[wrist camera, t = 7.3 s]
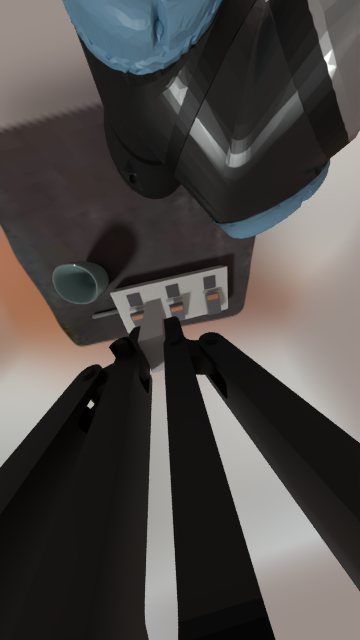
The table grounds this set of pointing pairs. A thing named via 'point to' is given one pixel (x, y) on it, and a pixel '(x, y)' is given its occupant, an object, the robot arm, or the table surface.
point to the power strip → (172, 294)
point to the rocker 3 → (213, 303)
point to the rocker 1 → (137, 317)
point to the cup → (80, 281)
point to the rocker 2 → (177, 310)
